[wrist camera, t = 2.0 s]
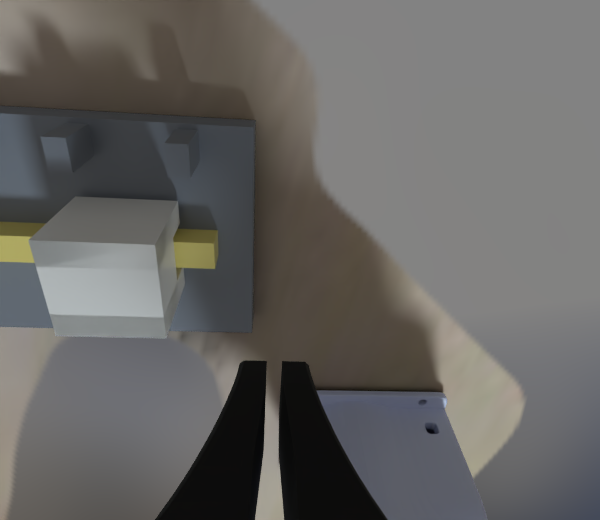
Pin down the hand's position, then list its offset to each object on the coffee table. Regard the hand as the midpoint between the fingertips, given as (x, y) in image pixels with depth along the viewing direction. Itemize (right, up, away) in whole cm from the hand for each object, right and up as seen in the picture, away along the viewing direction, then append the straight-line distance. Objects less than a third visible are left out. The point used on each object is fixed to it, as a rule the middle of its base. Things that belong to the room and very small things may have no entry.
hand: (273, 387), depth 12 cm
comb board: (-10, +5, +7) cm, 13 cm away
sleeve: (-6, +4, +7) cm, 10 cm away
